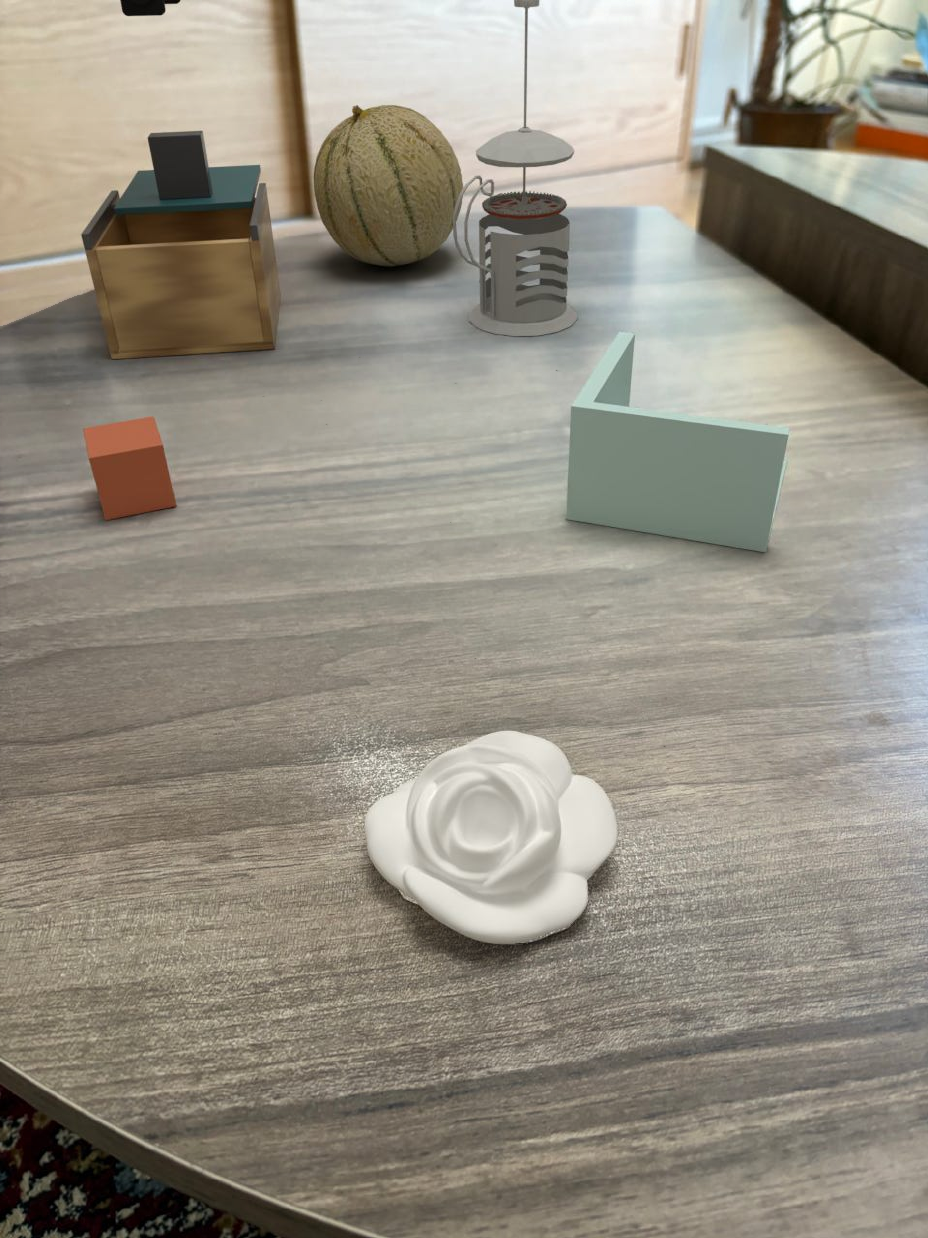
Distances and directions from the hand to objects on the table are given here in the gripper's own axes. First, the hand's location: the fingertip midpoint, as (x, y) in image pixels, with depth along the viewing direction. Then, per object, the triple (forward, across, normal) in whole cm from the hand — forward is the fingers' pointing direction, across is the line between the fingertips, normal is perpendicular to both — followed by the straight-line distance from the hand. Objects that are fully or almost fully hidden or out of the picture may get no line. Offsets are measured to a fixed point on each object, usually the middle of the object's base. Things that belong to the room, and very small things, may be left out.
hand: (153, 8), depth 81 cm
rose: (+24, +70, +19) cm, 76 cm away
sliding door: (+14, -2, 0) cm, 14 cm away
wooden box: (+24, +7, +1) cm, 25 cm away
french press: (+24, +10, +29) cm, 38 cm away
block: (+24, +38, 0) cm, 45 cm away
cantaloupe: (+24, -8, +19) cm, 31 cm away
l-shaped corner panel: (+24, +42, +35) cm, 59 cm away
